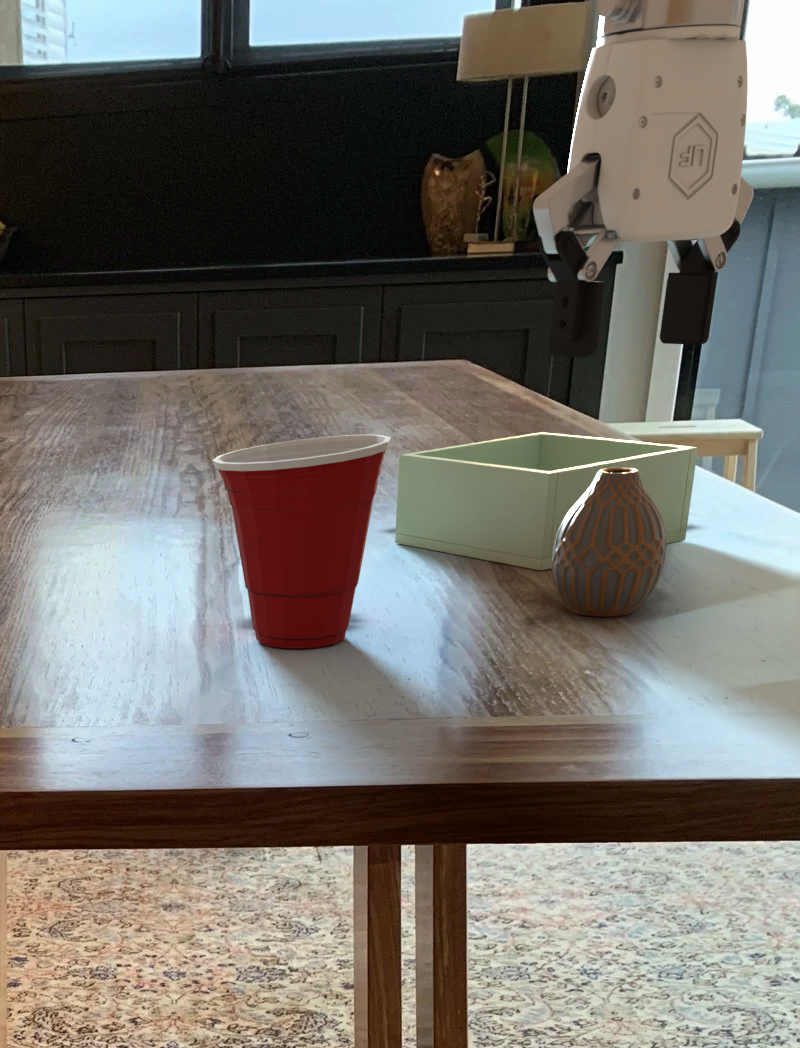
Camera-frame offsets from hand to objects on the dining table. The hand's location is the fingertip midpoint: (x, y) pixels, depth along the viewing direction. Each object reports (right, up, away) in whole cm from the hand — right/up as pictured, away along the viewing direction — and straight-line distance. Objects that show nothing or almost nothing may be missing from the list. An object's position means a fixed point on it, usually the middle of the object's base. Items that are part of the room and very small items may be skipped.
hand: (628, 349), depth 93 cm
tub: (+4, -3, +28) cm, 29 cm away
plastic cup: (-19, -16, +6) cm, 26 cm away
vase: (+1, -14, +8) cm, 16 cm away
